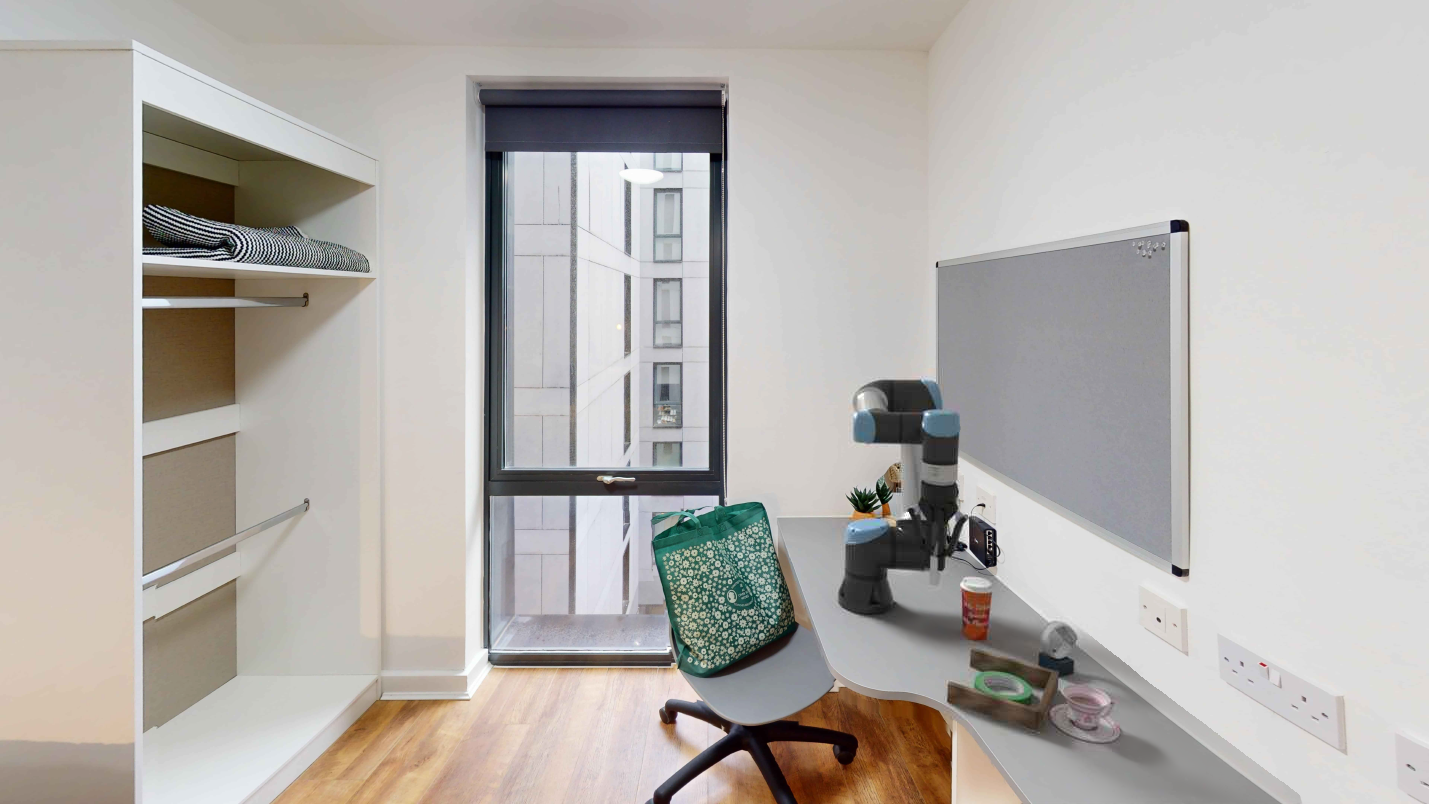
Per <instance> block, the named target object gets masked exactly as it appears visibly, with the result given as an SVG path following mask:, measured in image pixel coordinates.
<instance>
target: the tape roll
mask: <svg viewBox="0 0 1429 804" xmlns="http://www.w3.org/2000/svg"><path fill="white" fill-rule="evenodd" d="M973 681H974V683H973V687H974V688H973V689H976V690H979V691H982V692H985V693H989V694H992V695H995V696H998V697H1001V698H1005V699H1008V700H1011V701H1014V702H1017V703H1020V704H1024V705H1027V706H1030V707H1031V705H1032V704H1033V703H1032V702H1033V689H1032V686H1030V684H1028V683H1026V682H1025V681H1024V680H1022V679H1020V678H1018V677H1016V676H1014V675H1011V674H1007V673H1003V672H996V671H983V672H979V673H977V675H976V676H975V677H974V680H973ZM989 686H1001V687H1005V688H1009V689H1010V690H1014V691H1016V692H1017V693H1018V694H1017V693H1016V694H1005V693H1004V694H1003V693H999V692H997V691H995V690H992V689H990V688H989Z"/></svg>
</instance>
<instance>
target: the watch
mask: <svg viewBox="0 0 1429 804" xmlns="http://www.w3.org/2000/svg"><path fill="white" fill-rule="evenodd" d="M1054 632H1056V633H1057V635H1059V637H1060V638H1061V641H1063V642H1062V644H1061V647H1060V648H1059V649H1058V650H1056V649H1054V648H1052V644H1051V640H1050V639H1051V637H1052V635H1053V634H1054ZM1078 639H1079V638H1078V635H1077V633H1076V632H1075V630H1074V629H1073V628H1072V626H1070V625H1069V624H1067V623H1066V622H1063V621H1061V620H1060V621H1057V620H1053V621H1050V622H1048V623H1047V624H1046V625H1045V626H1044V628H1043V630H1042V632H1041V636H1040V645H1041V647H1042V650H1043V651H1039V652H1038V665H1037V666H1040V667H1043V668H1047V669H1051V670H1054V671H1058V672H1059V678H1063V677H1066V676H1071V675H1074V670H1075V669H1074V668H1075V660H1074V659H1072V658H1071V657H1069V656H1068V655H1069V654H1070V653H1071V652H1072V650H1073V649H1074V647H1075V646H1076V643H1077V640H1078Z"/></svg>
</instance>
